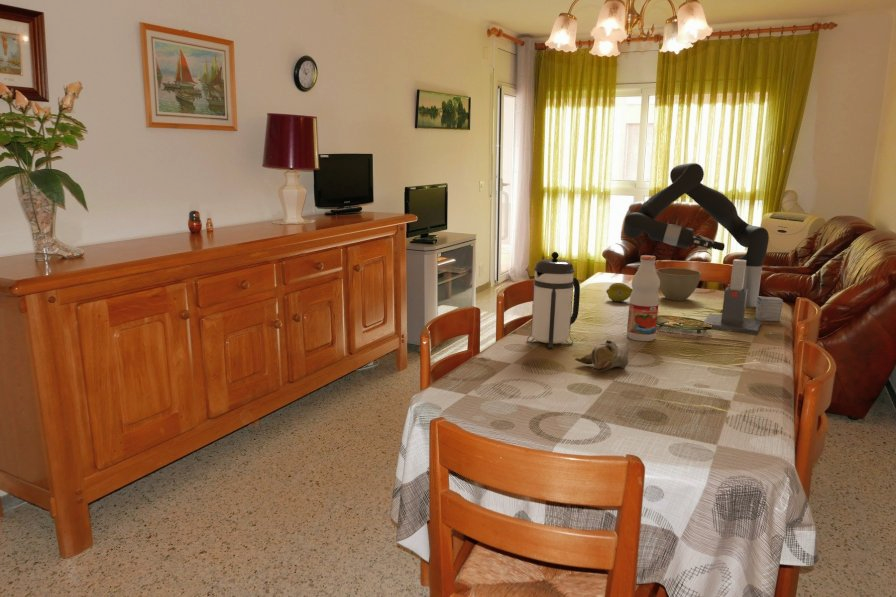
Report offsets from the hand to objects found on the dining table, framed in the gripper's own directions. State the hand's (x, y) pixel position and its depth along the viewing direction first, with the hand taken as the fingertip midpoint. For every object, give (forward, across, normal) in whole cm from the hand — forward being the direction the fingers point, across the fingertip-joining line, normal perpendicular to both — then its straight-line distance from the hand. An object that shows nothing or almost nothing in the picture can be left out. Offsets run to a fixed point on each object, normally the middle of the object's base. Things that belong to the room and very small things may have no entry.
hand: (723, 247), depth 235 cm
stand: (+11, +2, +27) cm, 29 cm away
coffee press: (-43, -50, +40) cm, 77 cm away
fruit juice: (-17, -31, +34) cm, 49 cm away
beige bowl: (-11, +41, +29) cm, 52 cm away
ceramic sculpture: (-23, -69, +38) cm, 82 cm away
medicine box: (+23, +18, +24) cm, 38 cm away
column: (+10, +2, +25) cm, 27 cm away
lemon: (-32, +24, +34) cm, 53 cm away
